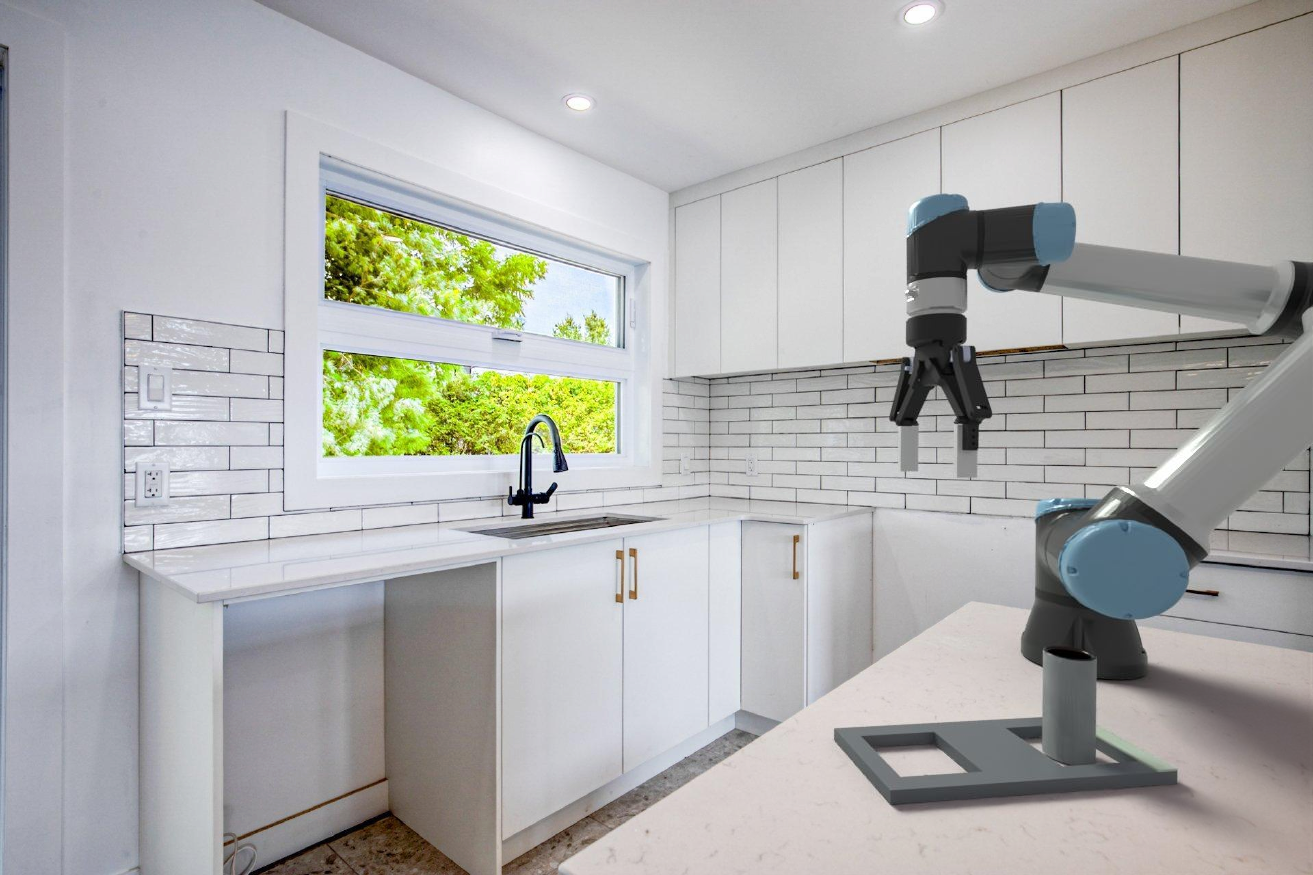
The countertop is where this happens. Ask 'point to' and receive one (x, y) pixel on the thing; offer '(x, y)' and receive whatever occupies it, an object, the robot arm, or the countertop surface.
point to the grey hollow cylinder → (1069, 705)
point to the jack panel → (995, 761)
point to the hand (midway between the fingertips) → (934, 474)
